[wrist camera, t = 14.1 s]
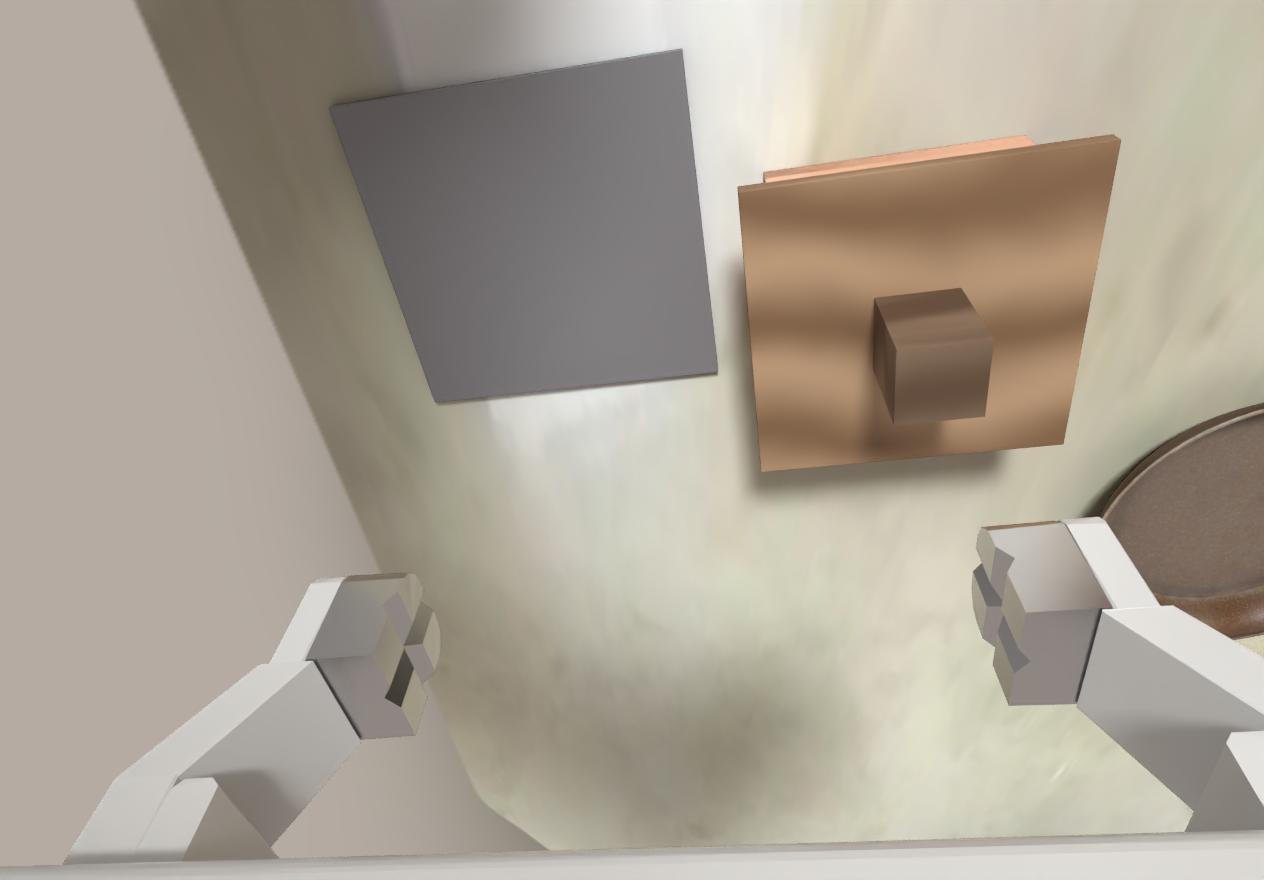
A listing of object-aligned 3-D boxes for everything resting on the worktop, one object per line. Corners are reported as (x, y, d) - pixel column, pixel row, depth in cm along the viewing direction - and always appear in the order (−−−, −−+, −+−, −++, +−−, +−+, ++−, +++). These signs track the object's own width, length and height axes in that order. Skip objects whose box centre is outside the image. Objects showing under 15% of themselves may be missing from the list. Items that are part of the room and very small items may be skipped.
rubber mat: (332, 105, 41) (328, 108, 41) (682, 48, 39) (681, 50, 38) (437, 398, 51) (435, 402, 51) (717, 367, 49) (718, 371, 49)
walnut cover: (737, 186, 36) (745, 235, 32) (1112, 134, 34) (1180, 178, 30) (760, 463, 46) (769, 532, 41) (1057, 435, 44) (1102, 505, 39)
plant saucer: (1501, 396, 48) (1549, 428, 45) (1288, 625, 60) (1316, 661, 57) (1165, 347, 47) (1194, 377, 44) (1019, 589, 59) (1035, 624, 57)
